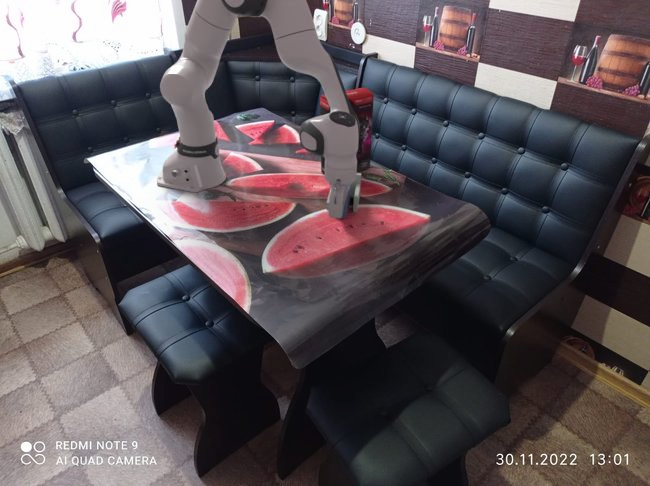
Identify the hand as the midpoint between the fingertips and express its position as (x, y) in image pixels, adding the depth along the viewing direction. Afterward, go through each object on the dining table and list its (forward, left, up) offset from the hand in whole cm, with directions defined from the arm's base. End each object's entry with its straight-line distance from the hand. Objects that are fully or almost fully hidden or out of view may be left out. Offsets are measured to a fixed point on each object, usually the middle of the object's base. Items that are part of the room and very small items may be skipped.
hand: (339, 214), depth 141 cm
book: (0, +8, -2) cm, 8 cm away
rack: (0, +11, -2) cm, 12 cm away
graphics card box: (-2, +33, -3) cm, 33 cm away
